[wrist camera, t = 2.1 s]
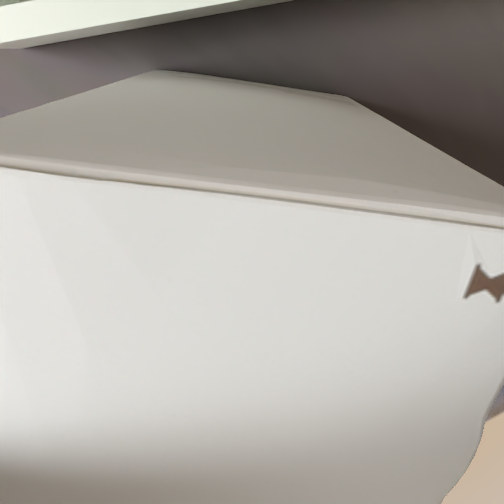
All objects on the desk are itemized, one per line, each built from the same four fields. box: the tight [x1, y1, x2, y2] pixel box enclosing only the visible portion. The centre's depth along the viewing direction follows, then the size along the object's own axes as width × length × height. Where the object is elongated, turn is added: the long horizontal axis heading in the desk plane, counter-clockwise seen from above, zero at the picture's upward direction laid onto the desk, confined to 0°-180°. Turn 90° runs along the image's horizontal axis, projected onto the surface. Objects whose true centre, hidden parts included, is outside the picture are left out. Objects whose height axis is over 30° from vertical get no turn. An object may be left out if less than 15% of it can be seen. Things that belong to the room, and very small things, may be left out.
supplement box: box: [0, 70, 504, 504], centre depth 14 cm, size 9×9×15 cm
